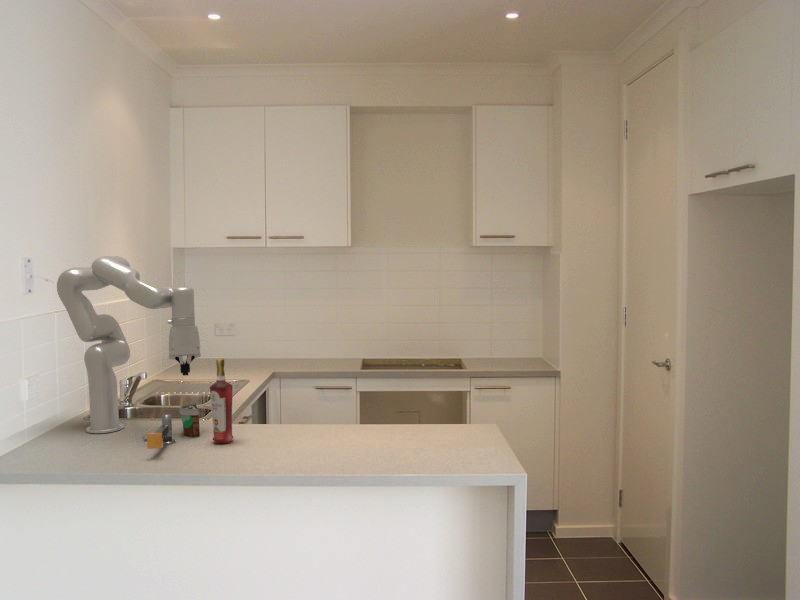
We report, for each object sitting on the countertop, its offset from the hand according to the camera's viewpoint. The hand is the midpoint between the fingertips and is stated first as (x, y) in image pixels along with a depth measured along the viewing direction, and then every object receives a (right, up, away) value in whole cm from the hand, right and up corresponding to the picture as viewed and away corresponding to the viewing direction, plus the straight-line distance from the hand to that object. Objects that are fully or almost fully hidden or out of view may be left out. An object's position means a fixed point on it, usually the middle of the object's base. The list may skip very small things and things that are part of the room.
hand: (185, 374), depth 243 cm
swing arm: (-2, -19, -20) cm, 28 cm away
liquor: (+16, -22, -10) cm, 28 cm away
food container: (+1, -21, +1) cm, 21 cm away
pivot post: (-3, -22, -9) cm, 24 cm away
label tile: (-10, -22, -2) cm, 24 cm away
